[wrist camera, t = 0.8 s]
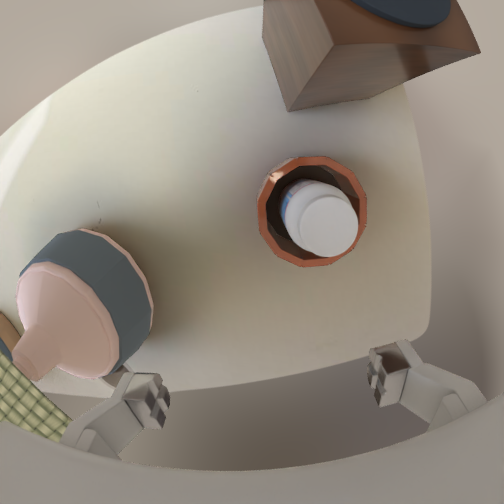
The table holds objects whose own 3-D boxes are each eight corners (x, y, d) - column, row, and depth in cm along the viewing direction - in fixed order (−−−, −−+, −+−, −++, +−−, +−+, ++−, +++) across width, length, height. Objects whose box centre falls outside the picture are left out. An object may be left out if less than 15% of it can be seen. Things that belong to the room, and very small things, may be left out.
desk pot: (283, 140, 28) (289, 136, 23) (364, 185, 30) (384, 191, 25) (241, 225, 32) (239, 239, 26) (322, 263, 33) (333, 282, 28)
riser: (342, 26, 23) (412, -64, 5) (369, 98, 26) (481, 53, 8) (262, 36, 24) (266, -78, 6) (287, 112, 27) (334, 45, 9)
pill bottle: (315, 239, 32) (342, 279, 21) (268, 215, 31) (274, 245, 21) (340, 193, 30) (381, 212, 20) (293, 167, 29) (314, 172, 19)
